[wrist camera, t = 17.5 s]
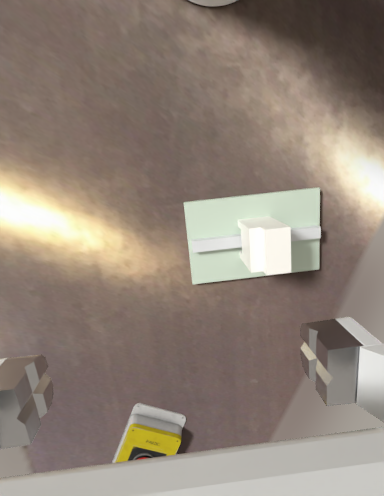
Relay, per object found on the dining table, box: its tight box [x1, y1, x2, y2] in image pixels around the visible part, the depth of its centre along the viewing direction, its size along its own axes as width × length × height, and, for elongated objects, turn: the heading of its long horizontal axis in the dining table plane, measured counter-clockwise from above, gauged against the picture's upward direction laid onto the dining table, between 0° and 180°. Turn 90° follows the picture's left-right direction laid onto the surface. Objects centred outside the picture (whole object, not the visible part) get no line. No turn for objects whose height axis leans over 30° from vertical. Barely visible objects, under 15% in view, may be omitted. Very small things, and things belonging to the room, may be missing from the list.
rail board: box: [184, 187, 321, 284], centre depth 43 cm, size 19×12×2 cm, turn 96°
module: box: [238, 216, 291, 275], centre depth 39 cm, size 5×6×8 cm
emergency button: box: [112, 403, 186, 463], centre depth 51 cm, size 9×4×15 cm
